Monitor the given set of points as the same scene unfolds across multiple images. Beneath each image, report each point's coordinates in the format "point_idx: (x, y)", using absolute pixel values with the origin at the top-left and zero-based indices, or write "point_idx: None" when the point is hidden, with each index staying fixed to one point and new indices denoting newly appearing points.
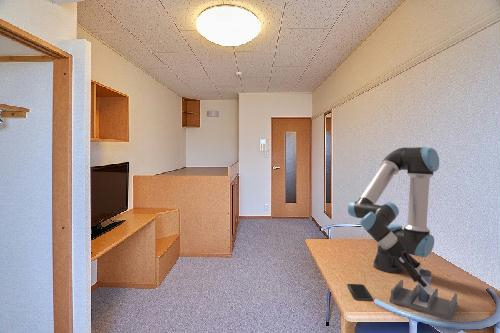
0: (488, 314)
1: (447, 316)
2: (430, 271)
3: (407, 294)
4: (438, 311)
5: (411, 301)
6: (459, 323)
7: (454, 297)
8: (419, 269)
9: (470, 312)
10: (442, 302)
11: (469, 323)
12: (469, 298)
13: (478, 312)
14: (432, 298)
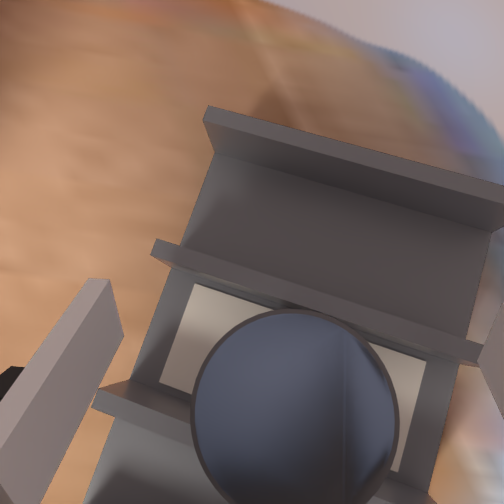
0: (277, 5)
1: (487, 237)
2: (261, 316)
3: (218, 495)
4: (456, 287)
5: (408, 490)
6: (500, 179)
7: (304, 137)
8: (32, 454)
9: (293, 91)
10: (269, 234)
11: (466, 124)
12: (70, 59)
13: (272, 49)
14: (395, 317)
